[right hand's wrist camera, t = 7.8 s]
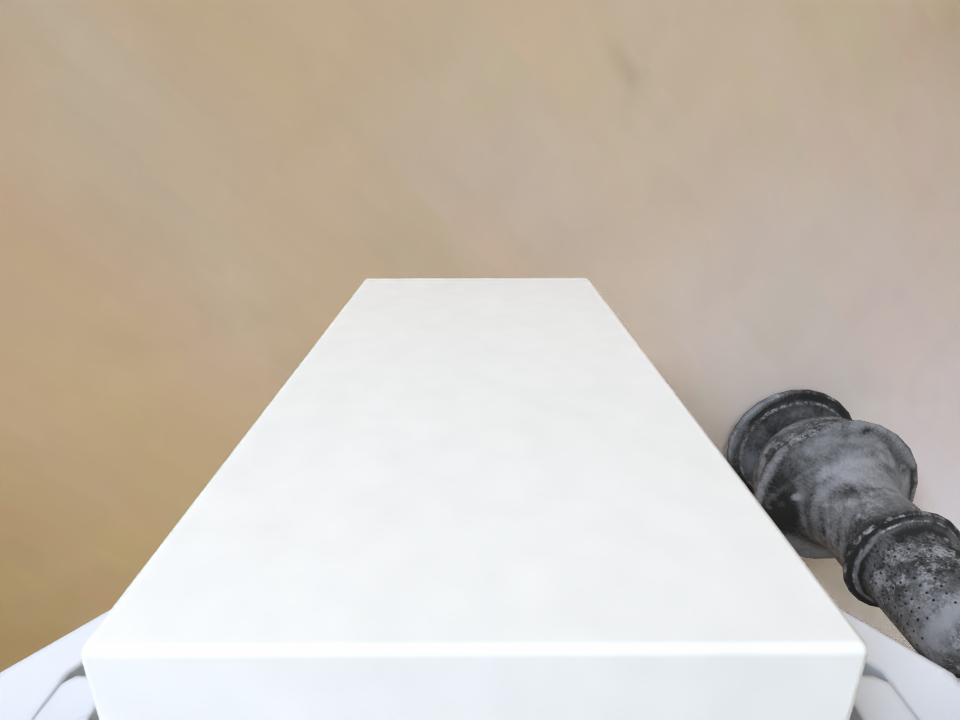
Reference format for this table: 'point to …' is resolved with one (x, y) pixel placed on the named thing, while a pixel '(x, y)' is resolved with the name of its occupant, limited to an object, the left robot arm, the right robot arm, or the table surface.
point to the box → (475, 540)
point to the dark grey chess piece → (855, 511)
